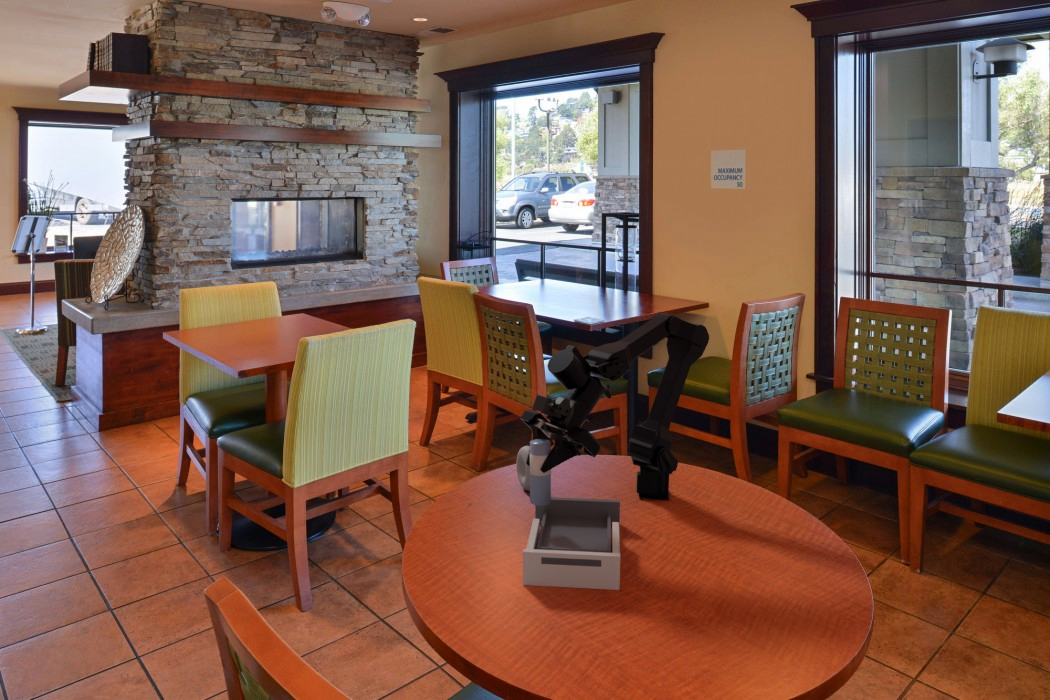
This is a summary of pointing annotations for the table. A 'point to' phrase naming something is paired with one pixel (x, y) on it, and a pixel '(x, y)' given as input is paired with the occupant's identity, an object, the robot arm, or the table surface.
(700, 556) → the table surface
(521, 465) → the donut
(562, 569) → the dock
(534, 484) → the canister
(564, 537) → the tray
